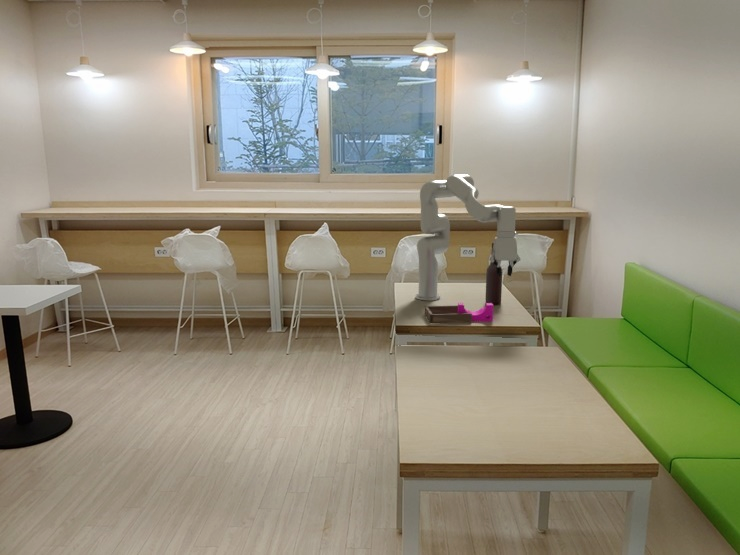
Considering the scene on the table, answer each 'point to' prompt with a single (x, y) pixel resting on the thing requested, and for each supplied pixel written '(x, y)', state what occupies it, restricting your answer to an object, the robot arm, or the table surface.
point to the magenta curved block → (479, 312)
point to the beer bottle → (493, 284)
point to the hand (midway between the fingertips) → (504, 275)
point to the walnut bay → (446, 314)
